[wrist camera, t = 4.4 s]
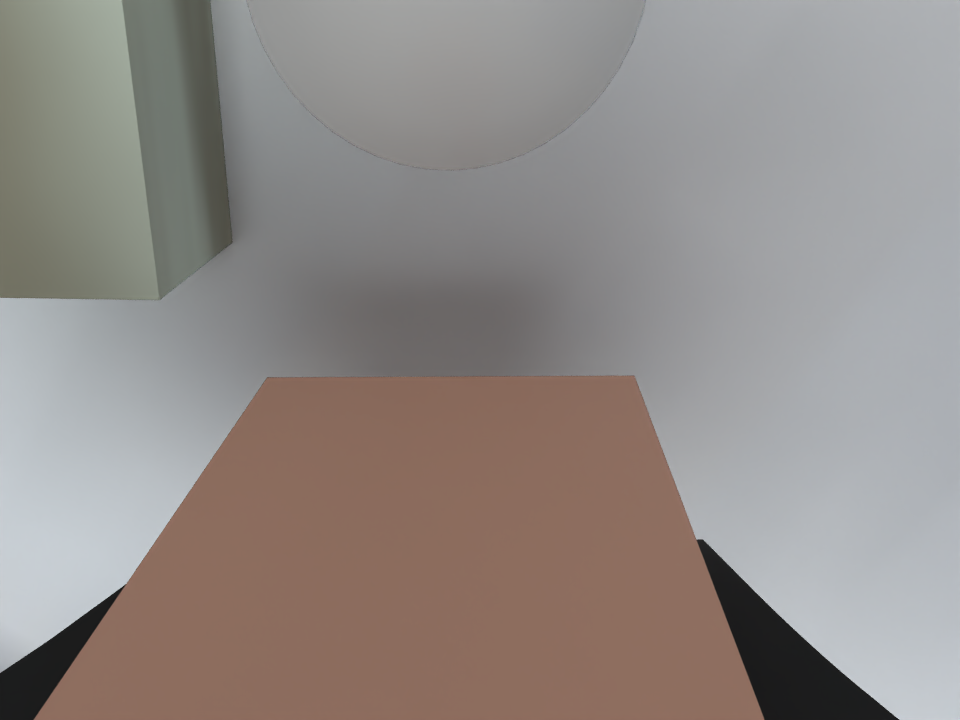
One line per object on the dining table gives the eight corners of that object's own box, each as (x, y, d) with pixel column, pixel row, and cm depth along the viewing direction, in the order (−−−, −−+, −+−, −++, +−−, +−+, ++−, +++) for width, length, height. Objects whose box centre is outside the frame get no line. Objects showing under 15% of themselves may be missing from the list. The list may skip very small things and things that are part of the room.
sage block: (209, -40, 15) (113, -62, 12) (234, 240, 17) (159, 300, 13) (-73, -42, 16) (-256, -65, 12) (-19, 236, 17) (-163, 295, 14)
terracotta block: (634, 375, 11) (778, 755, 5) (619, 675, 12) (717, 1218, 7) (266, 377, 11) (12, 751, 5) (299, 674, 12) (130, 1204, 7)
